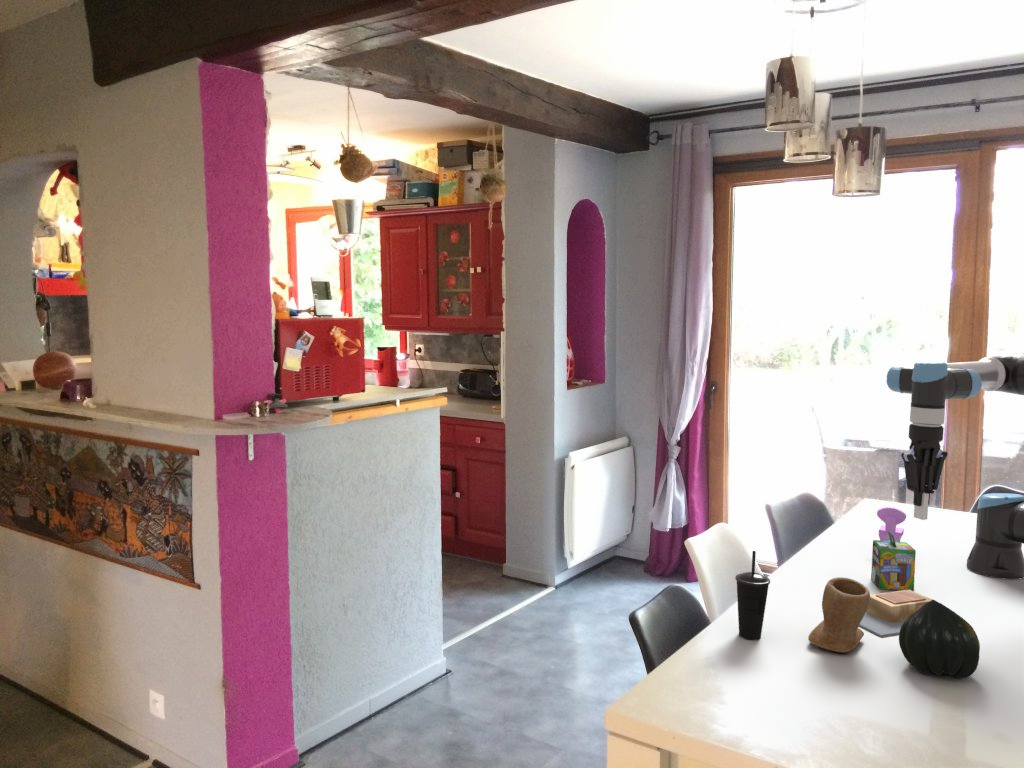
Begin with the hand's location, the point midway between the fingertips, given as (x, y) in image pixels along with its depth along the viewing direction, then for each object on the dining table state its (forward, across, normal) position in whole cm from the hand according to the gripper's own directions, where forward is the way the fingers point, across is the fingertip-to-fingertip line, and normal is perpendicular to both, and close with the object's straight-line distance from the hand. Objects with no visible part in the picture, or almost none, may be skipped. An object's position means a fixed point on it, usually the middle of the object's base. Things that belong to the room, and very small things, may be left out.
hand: (920, 518), depth 197 cm
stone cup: (+24, +32, +9) cm, 41 cm away
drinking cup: (+24, +49, -1) cm, 55 cm away
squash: (+24, +22, +26) cm, 42 cm away
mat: (+24, +10, 0) cm, 26 cm away
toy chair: (+25, -35, -42) cm, 60 cm away
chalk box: (+25, -11, -18) cm, 32 cm away
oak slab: (+22, -2, 0) cm, 22 cm away
